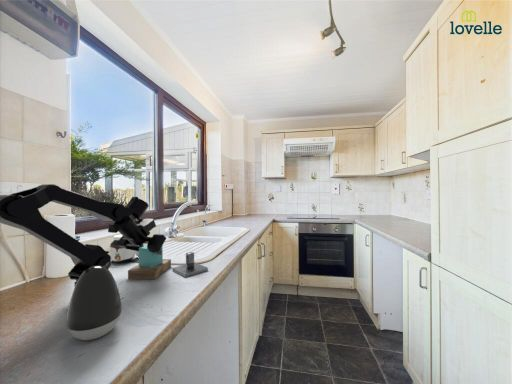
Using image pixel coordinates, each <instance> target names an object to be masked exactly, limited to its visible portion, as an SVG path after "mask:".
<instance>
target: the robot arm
mask: <svg viewBox="0 0 512 384" xmlns="http://www.w3.org/2000/svg"><path fill="white" fill-rule="evenodd" d="M51 202H52V203H55V204H58V205H62V206H64V207H65V206H66V207H69V208H73V209H76V210H80V211H83V212H87V213H89V214H90V215H91V216H93V217H94V218H96V219H98V220H100V221H105V222H112V224H108V229H107V232H108V233H111V234H112V233H113V234H117V233H119V235H123V236H122V237H121V238H120V240H119V241H118V246H119V247H121V248H126V249H129V250H134V251H138V252H139V248H140V247H144V246H145V245H144V244H147V245H146V246H147V249H148V250H149V252H152V253H156V254H159V255H161V254H162V250H161V247H162V246H163V245H164V244H165V242H166V240H167V237H166V236H165V234H161V233H155V234H153V235H152V236H150V234H151V232H150V231H152V230H153V229H154V228H156V227H157V225H156V222H155V219H154V218H142V217H143V216H144V214H145V212H146V211H147V210H148V209H149V207H150V205H149V204H148V202H147V201H145V200H143V199H141V198H139V197H138V196H132V197H131V198H130V200H129V201H128V203H127V204H126V205H125V206H124V205H123V204H121V203H117V202H111V201H103V200H98V199H94V198H91V197H90V196H88V195H87V196H86V195H83V194H81V193H78V192H75V191H72V190H69V189H66V188H64V187H61V186H59V185H57V184H53V183H51V184H39V185H38V186H35V187H32V188H29V189H26V190H25V189H24V190H21V191H17V192H14V193H11V194H0V224H3V225H7V226H10V227H13V228H15V229H19V230H22V231H25V232H26V233H28V234H29V235H31V236H33V237H34V238H37V239H38V240H40V241H42V242H44V243H45V244H47V245H48V246H51V247H52V248H53V249H56V250H58V252H61V253H63V254H64V255H65V256H68V257H69V258H70V259H71V261H72V263H73V264H74V266H73V267H72V268H71V269H70V271H69V272H68V274H67V276H68V277H69V279H70V280H74V281H75V282H73V283H74V285H73V286H74V287H75V285H76V283H77V281H78V279H79V277H80V276H81V274H82V273H83V272H84V271H85V270H86V269H88V268H90V267H92V266H96V265H100V266H105V265H106V264H107V263H111V262H112V260H111V256H110V251H108V250H107V251H106V250H105V249H104V248H103V247H102V246H101V245H100V244H99V245H97V244H90V243H89V244H88V243H86V244H83V243H82V242H81V241H79V240H78V239H76V238H74V237H73V236H71V235H70V234H69V233H67V232H65V231H64V230H62V229H61V228H59V227H58V226H56V225H55V224H53V223H51V222H50V221H48V220H47V219H45V218H44V217H43V215H42V213H41V211H40V210H39V209H41V208H43V207H45V206H46V205H47V204H49V203H51ZM69 303H70V301H69V302H68V304H69Z"/></svg>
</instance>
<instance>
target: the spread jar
mask: <svg viewBox="0 0 512 384" xmlns="http://www.w3.org/2000/svg"><path fill="white" fill-rule="evenodd" d="M122 236H123V235H122V234H118V235H117V234H115V235H114V236H113V241H111V243H110V245H109V255H110V256H111V262H112V263H114V264H125V263H129V262H130V261H132V260H133V259H134V258H135V256H136V257H137V256H138V257H139V252H138V251H134V250H129V249H126V248H121V247H119V246H118V241H119V240H120V238H121V237H122ZM138 257H137V258H138Z"/></svg>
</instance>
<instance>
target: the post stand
mask: <svg viewBox="0 0 512 384" xmlns="http://www.w3.org/2000/svg"><path fill="white" fill-rule="evenodd" d="M171 269H172V272H174V273H176V274H177V275H178V276H181V277H183V278H188V277H191V276H195V275H198V274H201V273H204V272H207V271H209V268H208V266H205V265H202V264H199V263H198V262H195V252H193V251H191V252H190V251H189V252H186V253H185V264H183V265H178V266H174V267H172V268H171Z"/></svg>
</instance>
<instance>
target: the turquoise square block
mask: <svg viewBox="0 0 512 384" xmlns="http://www.w3.org/2000/svg"><path fill="white" fill-rule="evenodd" d="M143 246H144V247H140V248H139V258H138V264H139V266H143V267H150V268H152V267H154V266H156V265H159V264H161V263H163V259H164V258H163V249H164V248H163V247H164V246H163V245H162V247H161V250H162V254H161V255H159V254H156V253H152V252H149V250H148V249H147V245H143Z"/></svg>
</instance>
